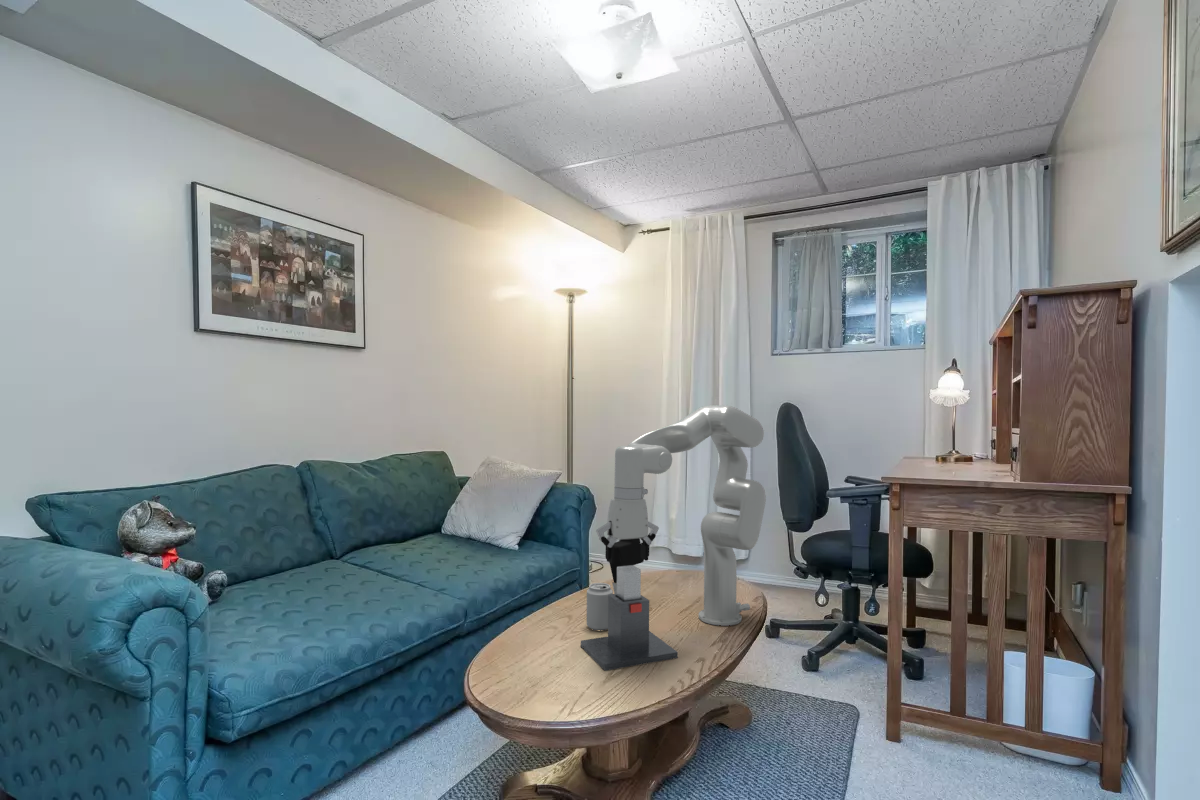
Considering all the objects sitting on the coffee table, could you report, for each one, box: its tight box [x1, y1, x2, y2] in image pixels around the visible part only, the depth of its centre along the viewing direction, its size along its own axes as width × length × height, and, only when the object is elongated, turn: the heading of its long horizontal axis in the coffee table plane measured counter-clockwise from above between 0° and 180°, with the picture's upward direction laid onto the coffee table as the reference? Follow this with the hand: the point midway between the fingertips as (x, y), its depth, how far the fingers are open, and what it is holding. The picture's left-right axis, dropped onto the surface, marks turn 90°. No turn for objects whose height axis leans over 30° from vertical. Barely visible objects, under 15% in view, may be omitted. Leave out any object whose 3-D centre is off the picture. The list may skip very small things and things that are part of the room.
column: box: [617, 565, 642, 602], centre depth 156 cm, size 5×5×20 cm
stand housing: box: [580, 593, 679, 671], centre depth 156 cm, size 20×16×14 cm
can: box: [586, 582, 614, 632], centre depth 174 cm, size 8×8×12 cm
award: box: [609, 538, 645, 594], centre depth 196 cm, size 15×5×30 cm, turn 144°
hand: (627, 560), depth 156 cm, fingers open, 9 cm apart
